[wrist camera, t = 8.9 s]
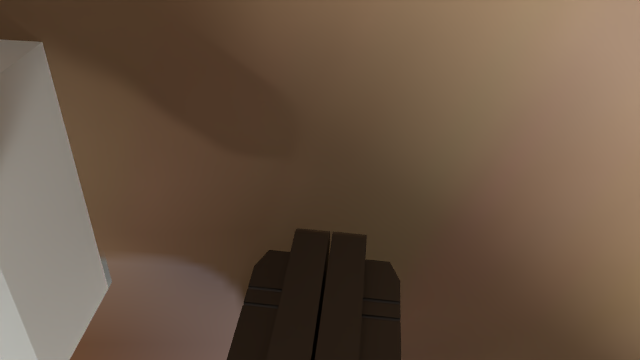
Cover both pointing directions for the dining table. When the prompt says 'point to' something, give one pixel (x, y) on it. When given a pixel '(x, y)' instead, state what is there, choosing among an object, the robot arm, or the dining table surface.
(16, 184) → the block
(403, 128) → the dining table surface
